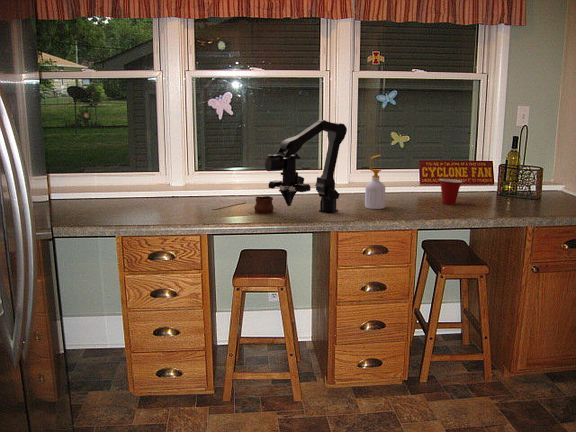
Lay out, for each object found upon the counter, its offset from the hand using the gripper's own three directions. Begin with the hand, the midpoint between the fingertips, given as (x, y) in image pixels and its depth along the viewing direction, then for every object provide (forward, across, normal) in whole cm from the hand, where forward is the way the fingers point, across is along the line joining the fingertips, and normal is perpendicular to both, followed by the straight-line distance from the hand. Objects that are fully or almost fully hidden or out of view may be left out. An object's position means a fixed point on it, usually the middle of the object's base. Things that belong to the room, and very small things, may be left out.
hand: (289, 206), depth 235 cm
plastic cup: (+5, -44, -71) cm, 84 cm away
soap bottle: (+5, -20, -40) cm, 45 cm away
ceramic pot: (+5, +14, 0) cm, 15 cm away
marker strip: (+4, +35, 0) cm, 35 cm away
